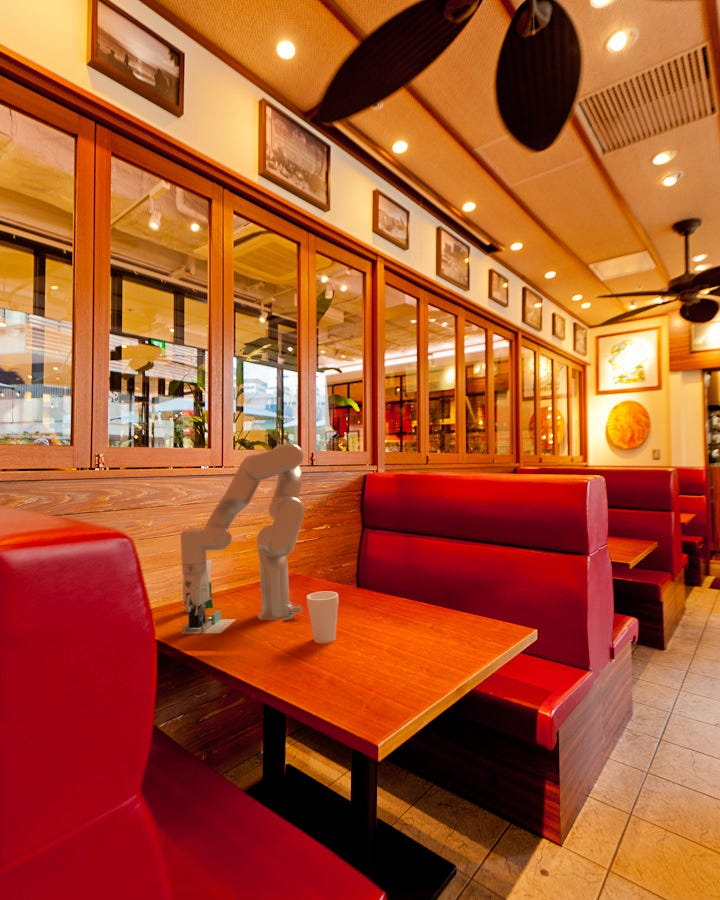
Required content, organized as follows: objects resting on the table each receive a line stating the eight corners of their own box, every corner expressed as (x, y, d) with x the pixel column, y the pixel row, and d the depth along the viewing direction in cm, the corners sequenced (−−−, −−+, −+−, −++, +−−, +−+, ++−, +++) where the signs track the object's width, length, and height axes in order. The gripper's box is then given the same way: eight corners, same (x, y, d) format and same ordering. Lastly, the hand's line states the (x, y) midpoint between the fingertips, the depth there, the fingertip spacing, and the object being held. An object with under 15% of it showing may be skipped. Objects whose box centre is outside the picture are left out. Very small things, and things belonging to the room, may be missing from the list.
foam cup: (346, 636, 149) (344, 593, 149) (329, 647, 141) (326, 601, 141) (320, 632, 154) (318, 590, 154) (302, 642, 146) (300, 598, 146)
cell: (204, 624, 160) (206, 601, 160) (199, 628, 156) (201, 604, 156) (194, 623, 160) (195, 600, 160) (188, 627, 157) (190, 603, 157)
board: (236, 622, 167) (235, 610, 167) (220, 636, 154) (220, 623, 154) (199, 623, 168) (198, 610, 169) (181, 637, 156) (180, 623, 156)
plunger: (215, 617, 167) (215, 615, 167) (210, 621, 163) (210, 619, 163) (204, 617, 168) (203, 615, 168) (198, 621, 164) (198, 619, 164)
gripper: (194, 573, 150) (197, 634, 149) (216, 562, 166) (219, 616, 166) (170, 574, 151) (173, 634, 150) (195, 562, 167) (197, 617, 167)
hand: (197, 624), depth 158 cm, fingers closed on cell, 3 cm apart
